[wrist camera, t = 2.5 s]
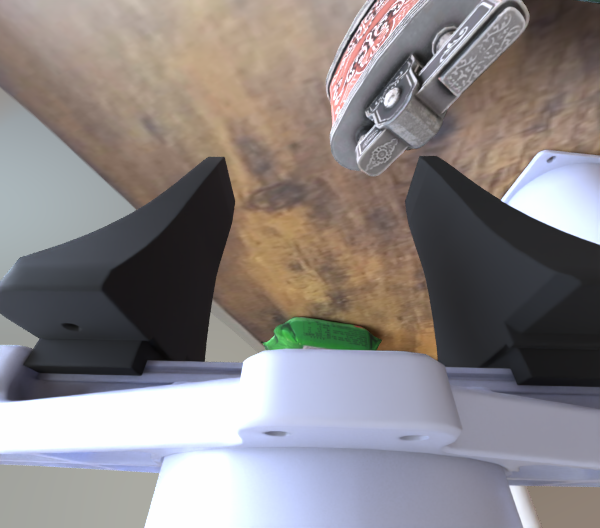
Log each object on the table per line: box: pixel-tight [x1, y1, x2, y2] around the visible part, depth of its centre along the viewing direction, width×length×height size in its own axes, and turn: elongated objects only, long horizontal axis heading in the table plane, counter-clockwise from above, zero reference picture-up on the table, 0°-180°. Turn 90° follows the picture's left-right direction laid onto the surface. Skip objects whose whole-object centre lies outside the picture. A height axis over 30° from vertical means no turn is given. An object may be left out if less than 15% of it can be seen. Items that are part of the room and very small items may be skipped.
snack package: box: [261, 317, 382, 351], centre depth 41 cm, size 7×16×5 cm, turn 73°
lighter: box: [326, 0, 530, 176], centre depth 13 cm, size 8×3×10 cm, turn 147°
